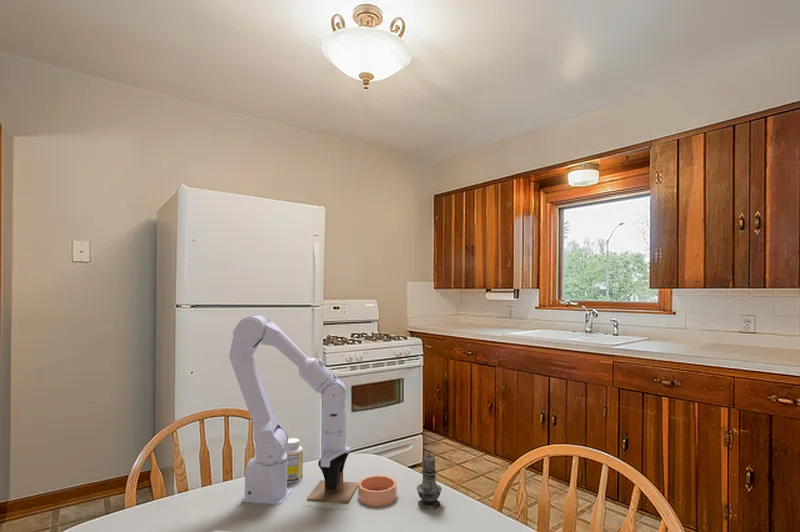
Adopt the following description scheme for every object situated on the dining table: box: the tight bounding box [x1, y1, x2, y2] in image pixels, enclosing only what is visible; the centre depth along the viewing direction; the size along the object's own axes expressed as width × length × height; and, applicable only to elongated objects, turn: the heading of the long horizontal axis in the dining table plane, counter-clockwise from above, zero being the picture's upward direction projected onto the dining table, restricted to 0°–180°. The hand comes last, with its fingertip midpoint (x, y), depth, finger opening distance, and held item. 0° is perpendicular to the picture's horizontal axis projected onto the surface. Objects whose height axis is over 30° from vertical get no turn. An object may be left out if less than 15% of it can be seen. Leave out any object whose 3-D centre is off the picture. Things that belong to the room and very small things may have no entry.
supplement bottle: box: [284, 437, 304, 484], centre depth 120 cm, size 6×6×10 cm
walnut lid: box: [306, 471, 359, 504], centre depth 111 cm, size 10×10×5 cm
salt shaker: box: [416, 451, 442, 511], centre depth 106 cm, size 6×6×12 cm
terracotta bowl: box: [357, 475, 398, 507], centre depth 109 cm, size 9×9×4 cm
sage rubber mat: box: [301, 479, 360, 510], centre depth 111 cm, size 11×14×1 cm
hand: (333, 485), depth 111 cm, fingers open, 3 cm apart
